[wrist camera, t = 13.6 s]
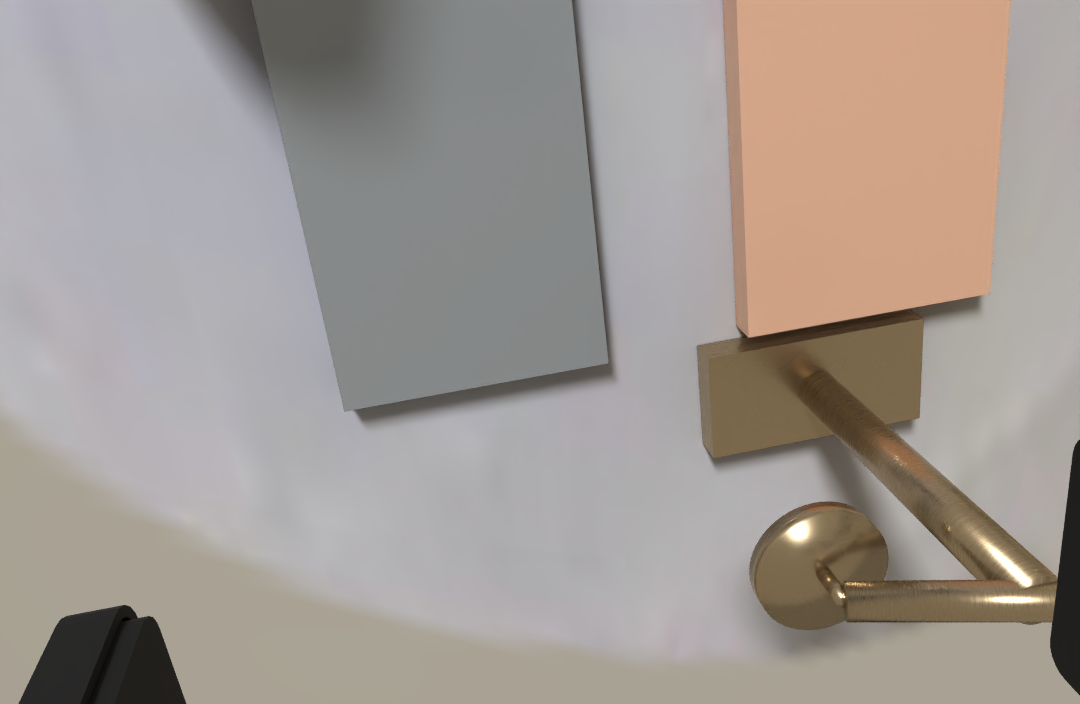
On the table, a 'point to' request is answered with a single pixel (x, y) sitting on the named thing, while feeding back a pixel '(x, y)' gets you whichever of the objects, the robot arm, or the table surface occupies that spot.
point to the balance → (860, 424)
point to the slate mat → (439, 188)
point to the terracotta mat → (861, 155)
